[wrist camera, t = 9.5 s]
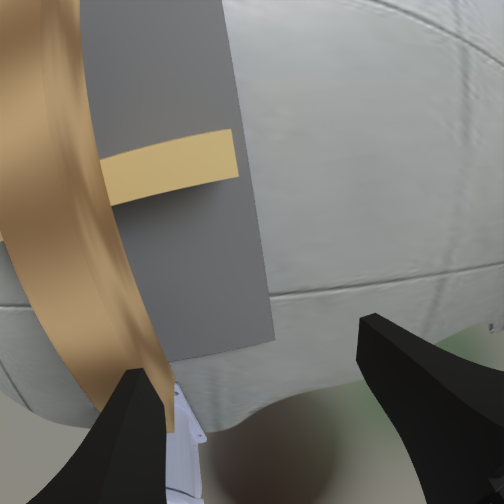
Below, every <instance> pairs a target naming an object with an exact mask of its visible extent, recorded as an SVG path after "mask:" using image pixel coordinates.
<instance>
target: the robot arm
mask: <svg viewBox="0 0 504 504" xmlns="http://www.w3.org/2000/svg"><path fill="white" fill-rule="evenodd" d="M356 362H357V364H358V366H359V368H360V370H361V373H362V375H363V377H364V379H365V381H366V383H367V385H368V386H369V388H370V389H371V391H372V393H373V394H374V396H375V397H376V399H377V400H378V402H379V403H380V405H381V406H382V408H383V410H384V411H385V413H386V414H387V415H388V417H389V419H390V420H391V422H392V423H393V425H394V427H395V428H396V430H397V432H398V433H399V435H400V437H401V438H402V441H403V443H404V445H405V447H406V449H407V452H408V454H409V456H410V458H411V461H412V463H413V465H414V468H415V470H416V473H417V475H418V478H419V481H420V484H421V487H422V490H423V492H424V496H425V499H426V502H427V504H504V371H499V370H496V369H492V368H489V367H485V366H482V365H479V364H477V363H474V362H471V361H468V360H466V359H463V358H460V357H458V356H456V355H454V354H451V353H449V352H447V351H445V350H443V349H441V348H439V347H436V346H435V345H433V344H431V343H429V342H427V341H425V340H423V339H421V338H420V337H418V336H416V335H414V334H412V333H410V332H409V331H407V330H405V329H403V328H402V327H400V326H398V325H396V324H395V323H393V322H391V321H389V320H388V319H386V318H384V317H382V316H380V315H378V314H377V313H373V314H370V315H367V316H364V317H361V318H360V320H359V333H358V345H357V355H356ZM174 427H175V433H167V430H166V417H165V407H164V404H163V402H162V400H161V399H160V397H159V395H158V394H157V392H156V390H155V388H154V387H153V385H152V383H151V381H150V380H149V378H148V376H147V374H146V372H145V370H144V369H143V368H136V369H129V370H126V371H125V373H124V374H123V376H122V378H121V379H120V381H119V383H118V384H117V386H116V388H115V390H114V391H113V393H112V395H111V396H110V398H109V400H108V402H107V403H106V405H105V407H104V408H103V410H102V412H101V413H100V415H99V417H98V418H97V420H96V422H95V423H94V425H93V426H92V428H91V430H90V431H89V433H88V434H87V436H86V437H85V439H84V441H83V442H82V443H81V445H80V446H79V448H78V449H77V450H76V452H75V453H74V454H73V456H72V457H71V458H70V459H69V461H68V462H67V463H66V464H65V466H64V467H63V468H62V469H61V470H60V471H59V473H58V474H57V475H56V476H55V477H54V478H53V479H52V480H51V481H50V482H49V483H48V484H47V485H46V487H44V488H43V490H41V491H40V492H39V493H38V494H37V495H36V496H35V497H34V498H32V499H31V500H30V501H29V502H28V503H26V504H204V500H203V499H200V497H201V493H202V484H201V474H200V466H199V454H198V443H203V442H206V441H207V438H206V435H205V434H204V432H203V430H202V428H201V426H200V425H199V423H198V421H197V419H196V417H195V415H194V414H193V412H192V410H191V408H190V406H189V404H188V402H187V400H186V398H185V396H184V394H183V392H182V390H181V388H180V386H179V385H178V384H176V383H175V389H174Z"/></svg>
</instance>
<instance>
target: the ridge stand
mask: <svg viewBox="0 0 504 504" xmlns="http://www.w3.org/2000/svg"><path fill="white" fill-rule="evenodd" d="M80 28H81V43H82V54H83V64H84V73H85V81H86V89H87V96H88V102H89V109H90V115H91V120H92V126H93V131H94V136H95V141H96V146H97V151H98V156H99V160H100V164H101V169H102V173H103V177H104V181H105V185H106V189H107V193H108V197H109V200H110V204H111V208H112V211H113V215H114V218H115V222H116V225H117V228H118V232H119V235H120V238H121V241H122V244H123V248H124V251H125V254H126V257H127V260H128V263H129V266H130V268H131V271H132V274H133V277H134V280H135V282H136V285H137V288H138V291H139V293H140V296H141V299H142V301H143V304H144V306H145V309H146V311H147V314H148V316H149V319H150V321H151V324H152V326H153V329H154V331H155V333H156V336H157V338H158V340H159V343H160V345H161V347H162V350H163V352H164V354H165V356H166V358H167V361H168V362H171V361H177V360H183V359H189V358H194V357H200V356H205V355H210V354H215V353H220V352H225V351H230V350H234V349H239V348H243V347H248V346H252V345H257V344H261V343H265V342H269V341H273V340H275V333H274V326H273V319H272V312H271V306H270V299H269V292H268V285H267V278H266V272H265V265H264V258H263V252H262V245H261V239H260V232H259V226H258V219H257V213H256V206H255V200H254V193H253V187H252V180H251V174H250V168H249V162H248V155H247V149H246V143H245V137H244V130H243V124H242V118H241V112H240V106H239V100H238V94H237V88H236V82H235V76H234V70H233V64H232V58H231V52H230V46H229V40H228V35H227V29H226V23H225V17H224V12H223V6H222V0H80ZM1 241H4V240H3V238H2V235H1V232H0V242H1Z"/></svg>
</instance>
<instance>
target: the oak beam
mask: <svg viewBox="0 0 504 504" xmlns="http://www.w3.org/2000/svg"><path fill="white" fill-rule="evenodd" d="M0 232H1V235H2V238H3V240H4V243H5V246H6V249H7V251H8V254H9V256H10V259H11V261H12V264H13V266H14V269H15V271H16V274H17V276H18V278H19V280H20V283H21V285H22V287H23V289H24V291H25V293H26V296H27V298H28V300H29V302H30V304H31V306H32V308H33V310H34V312H35V314H36V316H37V317H38V319H39V321H40V323H41V325H42V327H43V329H44V330H45V332H46V334H47V336H48V337H49V339H50V341H51V342H52V344H53V346H54V347H55V349H56V351H57V352H58V354H59V356H60V357H61V359H62V360H63V362H64V363H65V365H66V367H67V368H68V370H69V371H70V373H71V374H72V376H73V377H74V378H75V380H76V381H77V383H78V384H79V386H80V387H81V388H82V390H83V391H84V393H85V394H86V395H87V397H88V398H89V399H90V401H91V402H92V403H93V405H94V406H95V407H96V408H97V410H98V411H99V412H100V413H101V412H102V410H103V408H104V407H105V405H106V403H107V402H108V400H109V398H110V396H111V395H112V393H113V391H114V390H115V388H116V386H117V384H118V383H119V381H120V379H121V378H122V376H123V374H124V373H125V371H126V370H129V369H136V368H143V369H144V370H145V372H146V374H147V376H148V378H149V380H150V381H151V383H152V385H153V387H154V388H155V390H156V392H157V394H158V395H159V397H160V399H161V400H162V402H163V404H164V407H165V417H166V430H167V433H175V427H174V389H175V376H174V373H173V371H172V369H171V367H170V365H169V363H168V361H167V358H166V356H165V354H164V352H163V350H162V347H161V345H160V343H159V340H158V338H157V336H156V333H155V331H154V329H153V326H152V324H151V321H150V319H149V316H148V314H147V311H146V309H145V306H144V304H143V301H142V299H141V296H140V293H139V291H138V288H137V285H136V282H135V280H134V277H133V274H132V271H131V268H130V266H129V263H128V260H127V257H126V254H125V251H124V248H123V244H122V241H121V238H120V235H119V232H118V228H117V225H116V222H115V218H114V215H113V211H112V208H111V204H110V200H109V197H108V193H107V189H106V185H105V181H104V177H103V173H102V169H101V164H100V160H99V156H98V151H97V146H96V141H95V136H94V131H93V126H92V120H91V115H90V109H89V102H88V96H87V89H86V81H85V73H84V64H83V54H82V43H81V28H80V0H0Z"/></svg>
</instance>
